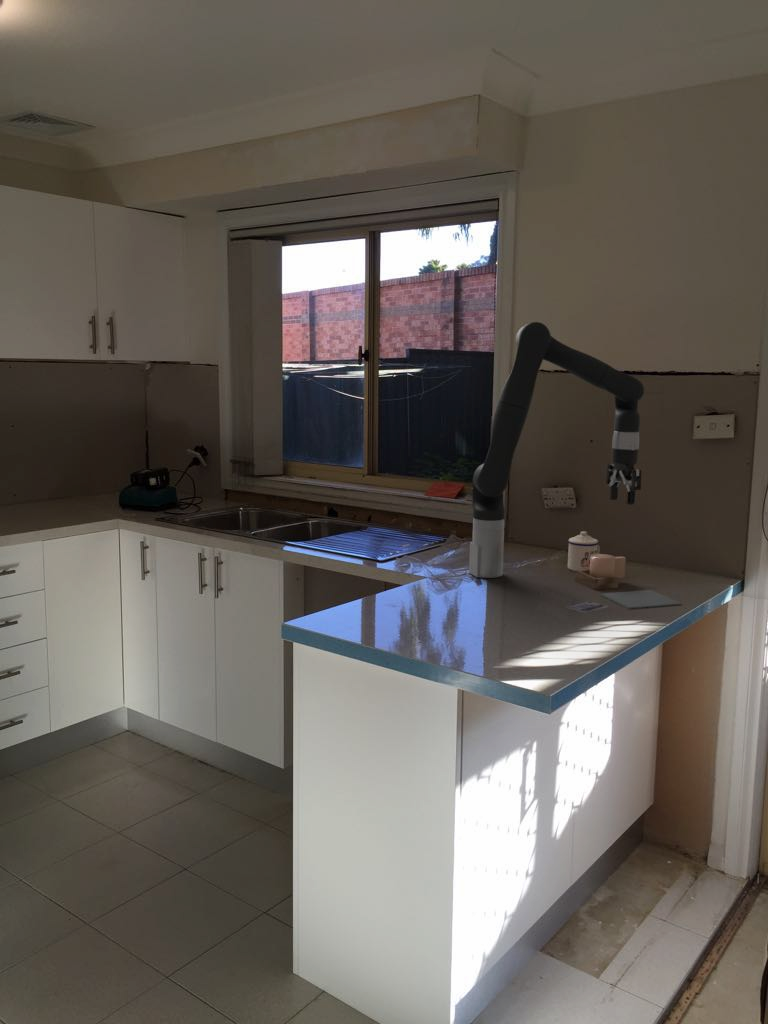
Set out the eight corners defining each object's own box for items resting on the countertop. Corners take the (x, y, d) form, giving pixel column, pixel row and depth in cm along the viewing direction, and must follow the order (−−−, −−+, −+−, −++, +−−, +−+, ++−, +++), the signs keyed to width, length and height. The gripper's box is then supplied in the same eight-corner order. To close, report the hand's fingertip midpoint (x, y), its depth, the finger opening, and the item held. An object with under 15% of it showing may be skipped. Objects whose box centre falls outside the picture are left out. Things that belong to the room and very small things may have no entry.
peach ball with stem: (596, 587, 244) (598, 560, 243) (584, 581, 251) (585, 554, 249) (629, 585, 247) (630, 558, 246) (616, 579, 254) (617, 552, 252)
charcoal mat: (628, 609, 223) (628, 607, 223) (599, 595, 236) (600, 593, 236) (681, 604, 227) (681, 603, 227) (650, 591, 241) (650, 589, 241)
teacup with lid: (583, 573, 260) (585, 536, 258) (560, 567, 267) (562, 531, 265) (609, 568, 267) (611, 531, 265) (586, 563, 274) (588, 527, 272)
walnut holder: (594, 589, 242) (594, 579, 241) (574, 580, 252) (575, 570, 252) (617, 587, 244) (618, 577, 243) (597, 578, 254) (598, 568, 254)
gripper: (600, 444, 256) (597, 498, 258) (628, 449, 242) (624, 506, 245) (622, 444, 258) (618, 497, 261) (651, 449, 245) (647, 505, 248)
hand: (621, 501), depth 253 cm, fingers open, 8 cm apart
